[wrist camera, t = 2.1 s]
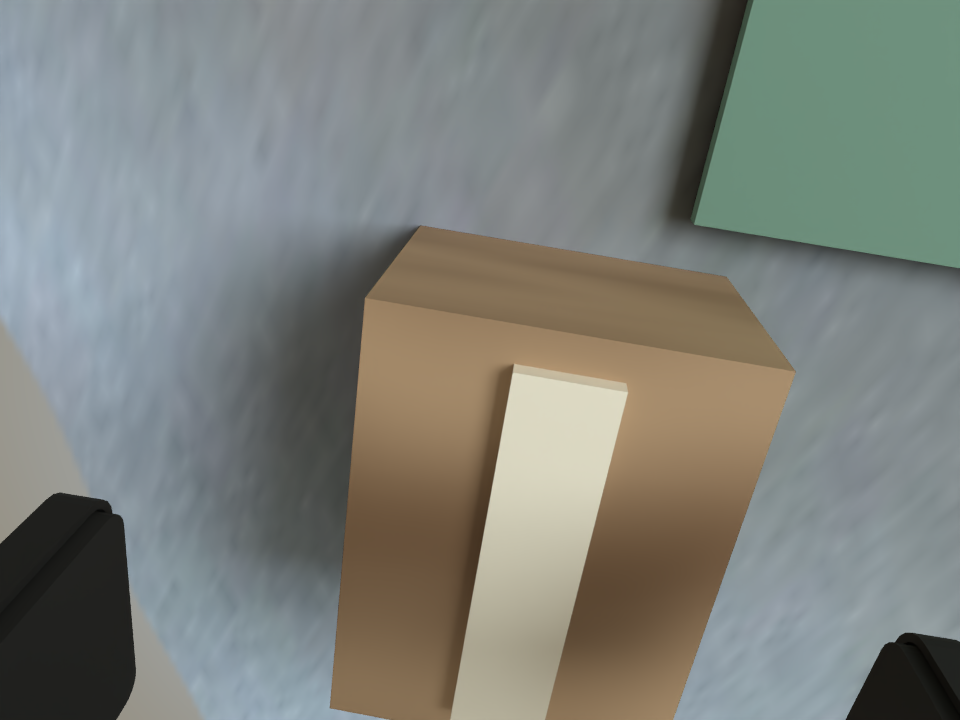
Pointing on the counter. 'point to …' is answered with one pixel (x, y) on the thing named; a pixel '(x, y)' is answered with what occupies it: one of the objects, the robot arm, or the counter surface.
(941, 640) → the robot arm
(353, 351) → the counter surface
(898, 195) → the play mat
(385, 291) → the cardboard box
